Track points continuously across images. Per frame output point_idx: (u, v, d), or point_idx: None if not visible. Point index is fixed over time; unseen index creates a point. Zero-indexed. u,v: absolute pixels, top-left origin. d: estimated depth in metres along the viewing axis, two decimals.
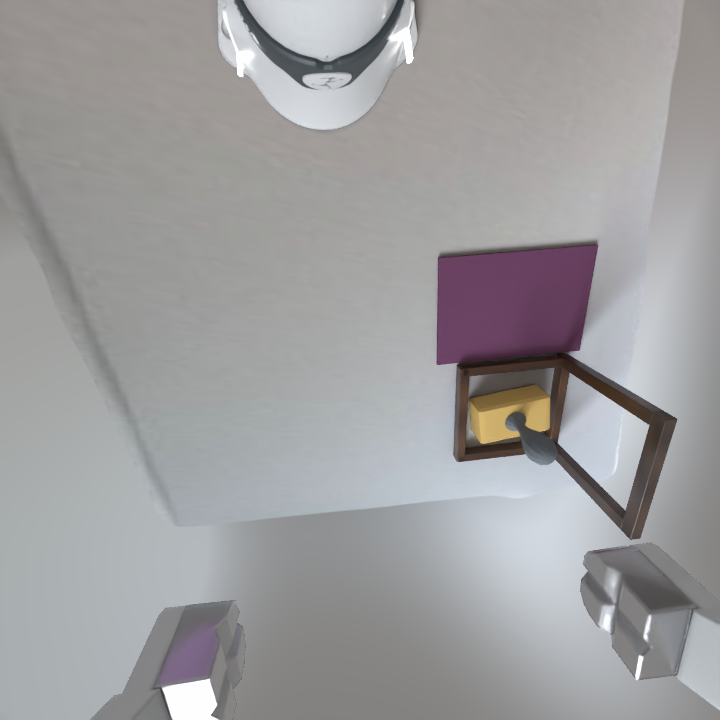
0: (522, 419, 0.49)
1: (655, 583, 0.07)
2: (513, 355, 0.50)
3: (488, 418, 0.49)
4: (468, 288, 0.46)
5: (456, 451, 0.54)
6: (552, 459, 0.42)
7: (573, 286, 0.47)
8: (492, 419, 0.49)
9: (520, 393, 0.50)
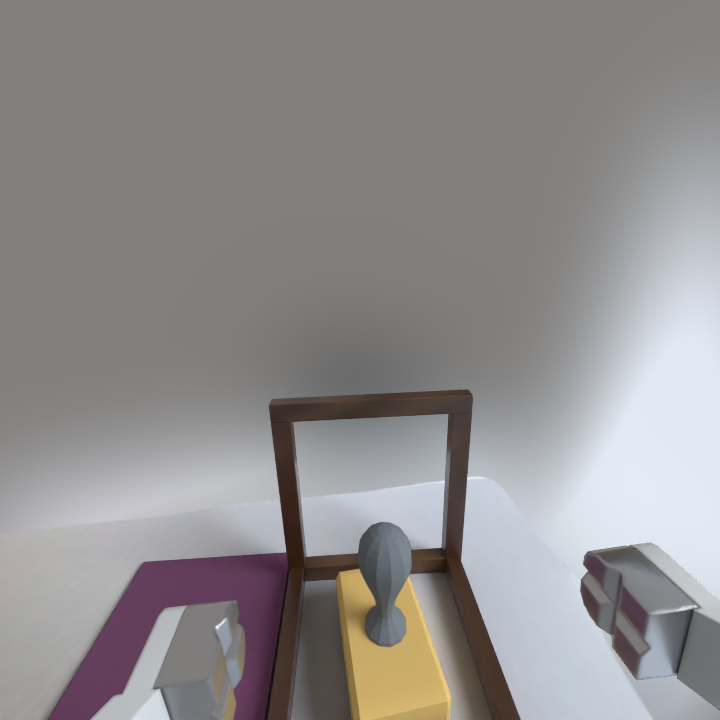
0: (373, 609, 0.25)
1: (655, 583, 0.07)
2: (270, 658, 0.27)
3: (377, 691, 0.22)
4: None
5: None
6: (385, 525, 0.23)
7: (186, 580, 0.33)
8: (380, 678, 0.22)
9: (341, 627, 0.27)
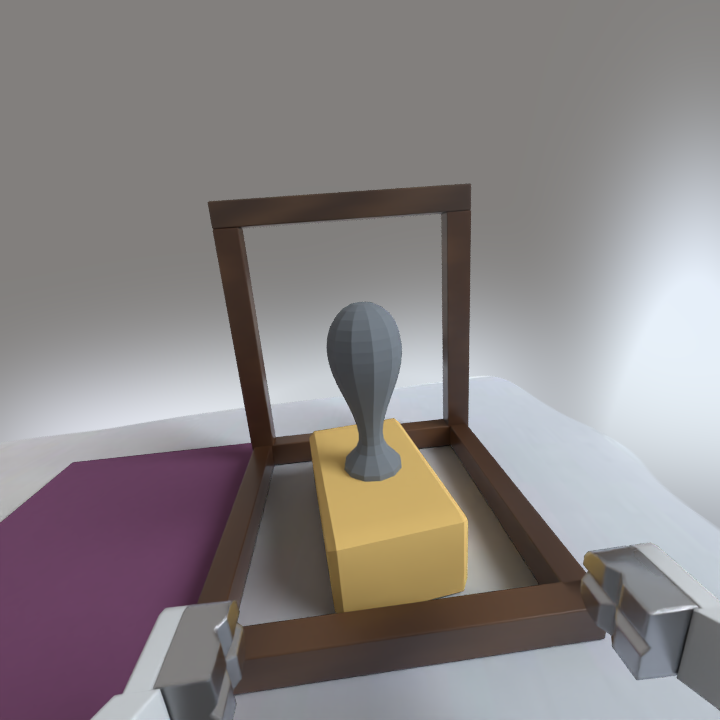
0: (356, 446, 0.19)
1: (655, 583, 0.07)
2: (222, 529, 0.20)
3: (361, 519, 0.15)
4: None
5: (566, 619, 0.13)
6: None
7: (123, 472, 0.26)
8: (365, 508, 0.15)
9: (316, 486, 0.20)
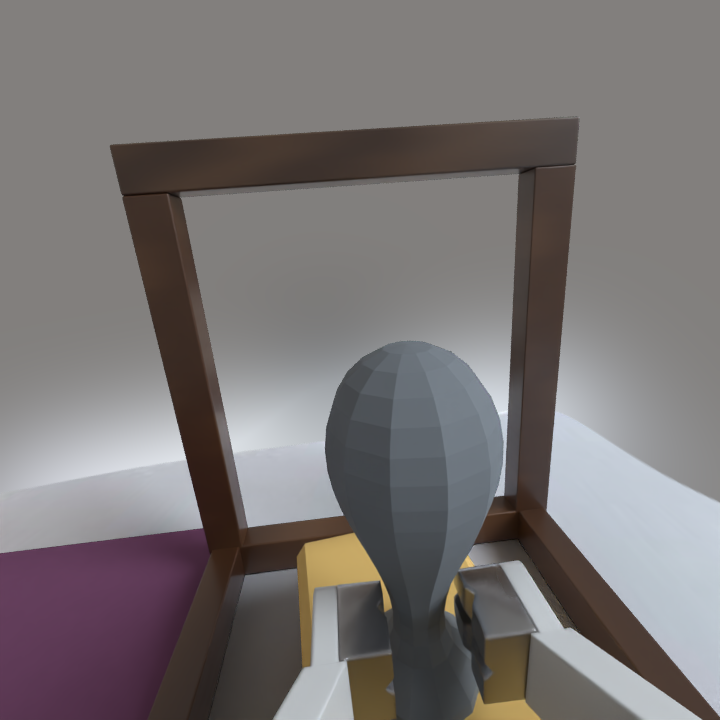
0: None
1: (504, 605, 0.07)
2: None
3: None
4: None
5: None
6: (407, 341, 0.07)
7: (6, 588, 0.16)
8: None
9: None
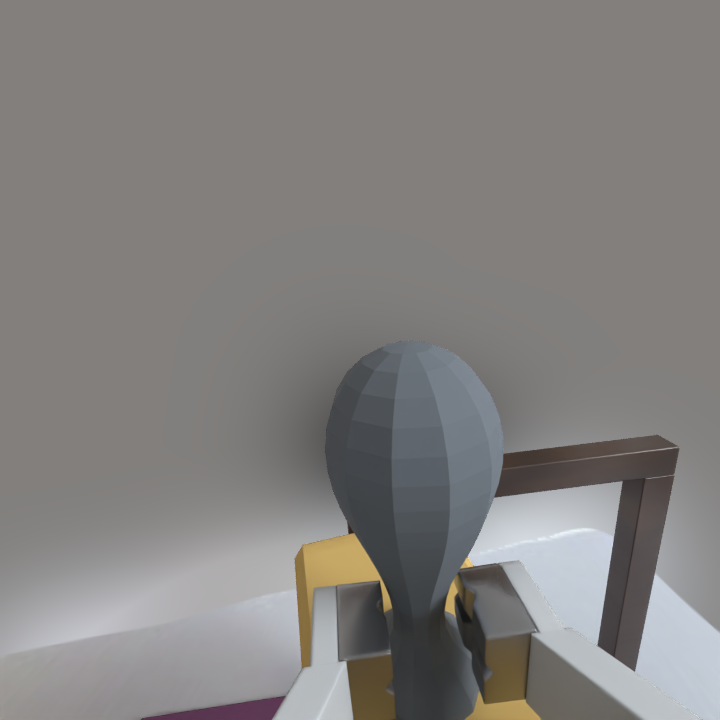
0: None
1: (504, 604, 0.07)
2: None
3: None
4: None
5: None
6: (407, 341, 0.07)
7: None
8: None
9: None
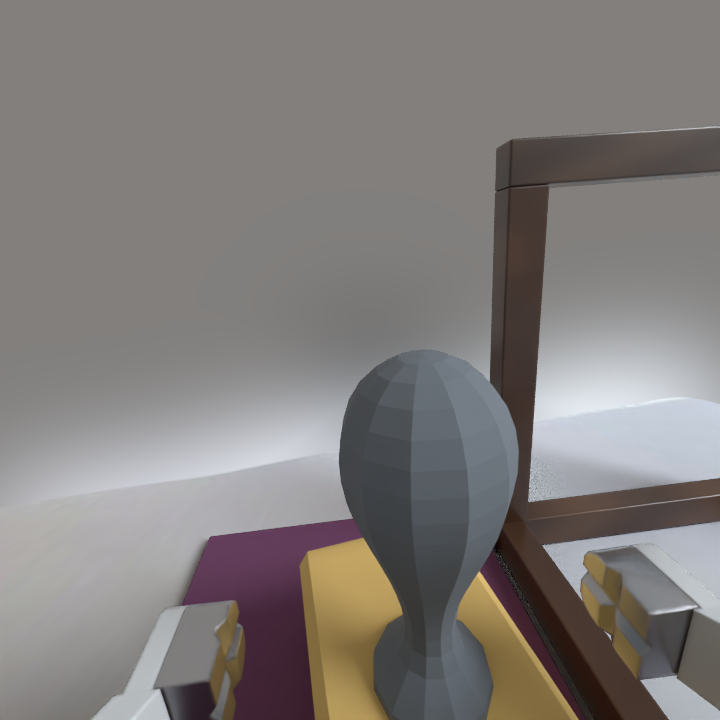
0: (395, 631, 0.09)
1: (655, 583, 0.07)
2: (572, 709, 0.11)
3: None
4: None
5: None
6: (420, 351, 0.07)
7: (299, 560, 0.17)
8: None
9: None
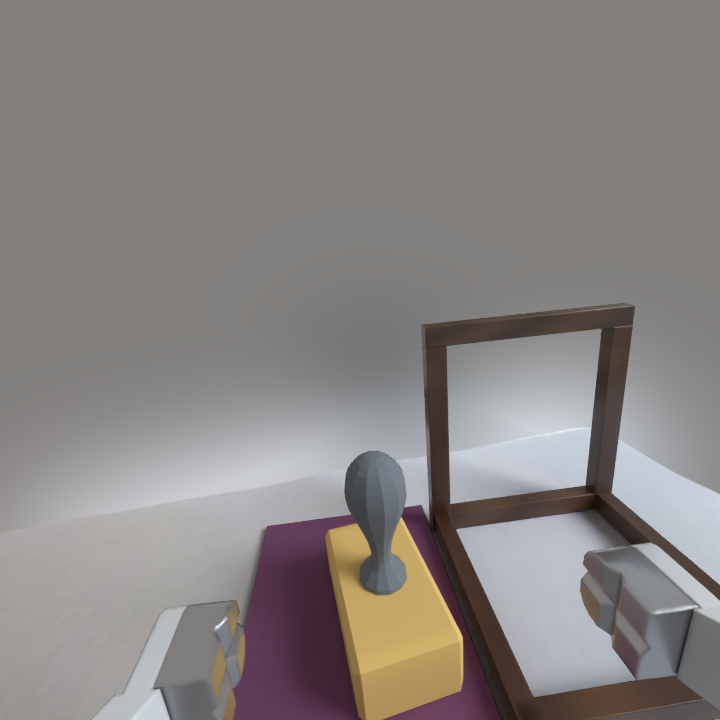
0: (368, 558, 0.22)
1: (655, 583, 0.07)
2: (452, 599, 0.24)
3: (378, 640, 0.18)
4: None
5: None
6: (372, 452, 0.20)
7: (322, 538, 0.31)
8: (380, 627, 0.19)
9: (334, 587, 0.24)
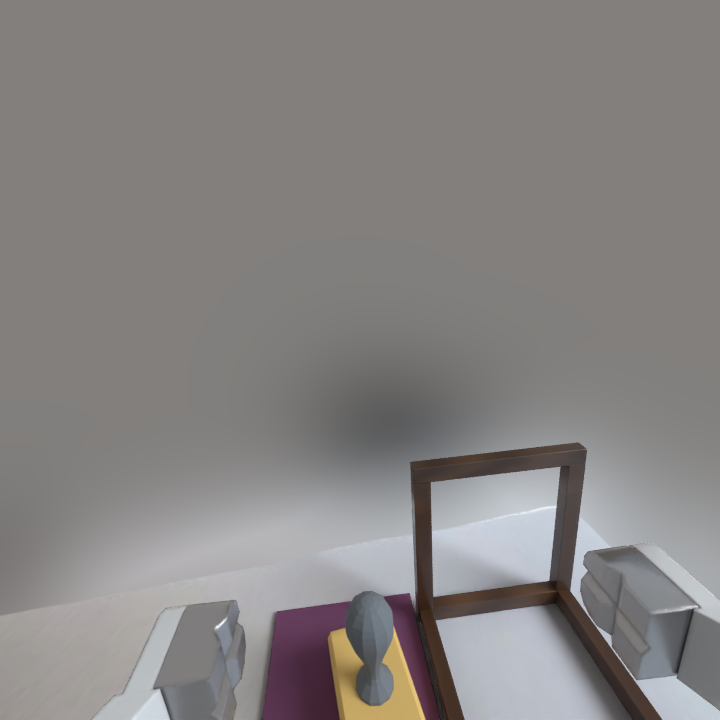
0: (363, 670, 0.28)
1: (655, 583, 0.07)
2: (431, 697, 0.30)
3: None
4: None
5: None
6: (367, 596, 0.26)
7: (324, 627, 0.36)
8: None
9: None
